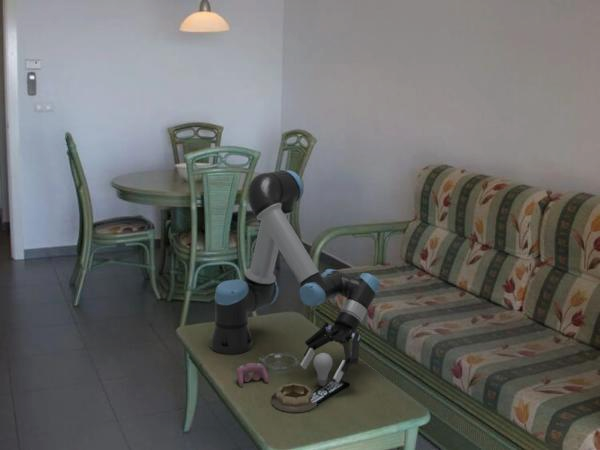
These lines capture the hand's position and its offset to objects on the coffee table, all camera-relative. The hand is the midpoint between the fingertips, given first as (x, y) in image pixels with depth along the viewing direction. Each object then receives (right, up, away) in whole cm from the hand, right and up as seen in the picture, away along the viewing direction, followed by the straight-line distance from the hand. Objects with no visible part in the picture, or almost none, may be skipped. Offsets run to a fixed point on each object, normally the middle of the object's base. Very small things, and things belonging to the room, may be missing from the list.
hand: (318, 373), depth 217 cm
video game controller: (-21, -4, +4) cm, 22 cm away
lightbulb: (+1, -5, +3) cm, 5 cm away
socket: (-8, -7, -9) cm, 13 cm away
